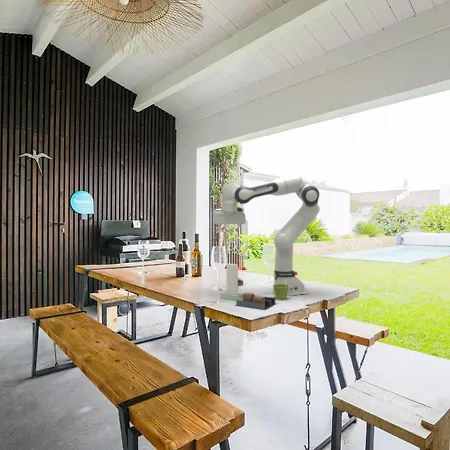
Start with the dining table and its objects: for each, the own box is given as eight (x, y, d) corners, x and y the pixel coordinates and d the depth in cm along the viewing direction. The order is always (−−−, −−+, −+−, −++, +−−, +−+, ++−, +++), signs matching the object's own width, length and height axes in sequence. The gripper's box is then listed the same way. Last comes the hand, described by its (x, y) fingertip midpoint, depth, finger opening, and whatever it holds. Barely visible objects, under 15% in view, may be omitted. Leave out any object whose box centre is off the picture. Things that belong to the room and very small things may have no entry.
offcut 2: (256, 305, 188) (256, 295, 188) (264, 306, 186) (264, 296, 185) (252, 306, 185) (252, 297, 184) (261, 307, 182) (261, 298, 182)
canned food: (233, 289, 255) (237, 276, 259) (244, 290, 249) (247, 276, 253) (224, 284, 248) (227, 271, 252) (235, 284, 241) (238, 271, 245)
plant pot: (280, 303, 197) (281, 287, 196) (269, 300, 204) (269, 285, 204) (292, 301, 202) (292, 286, 202) (280, 297, 210) (281, 283, 210)
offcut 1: (246, 303, 191) (246, 292, 191) (254, 304, 189) (254, 293, 188) (242, 305, 188) (242, 293, 188) (251, 306, 185) (251, 295, 185)
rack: (247, 301, 201) (247, 294, 201) (277, 305, 192) (277, 298, 191) (234, 307, 187) (234, 299, 187) (265, 312, 178) (265, 304, 178)
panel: (228, 298, 204) (228, 263, 203) (237, 299, 201) (237, 264, 200) (226, 298, 202) (226, 264, 201) (235, 300, 199) (235, 264, 198)
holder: (226, 297, 210) (226, 290, 210) (247, 300, 203) (247, 293, 203) (216, 301, 200) (216, 294, 200) (237, 305, 193) (237, 297, 192)
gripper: (213, 208, 213) (213, 231, 213) (246, 209, 216) (246, 231, 216) (212, 209, 219) (212, 231, 220) (244, 209, 222) (244, 231, 223)
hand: (229, 231), depth 218 cm, fingers open, 8 cm apart
